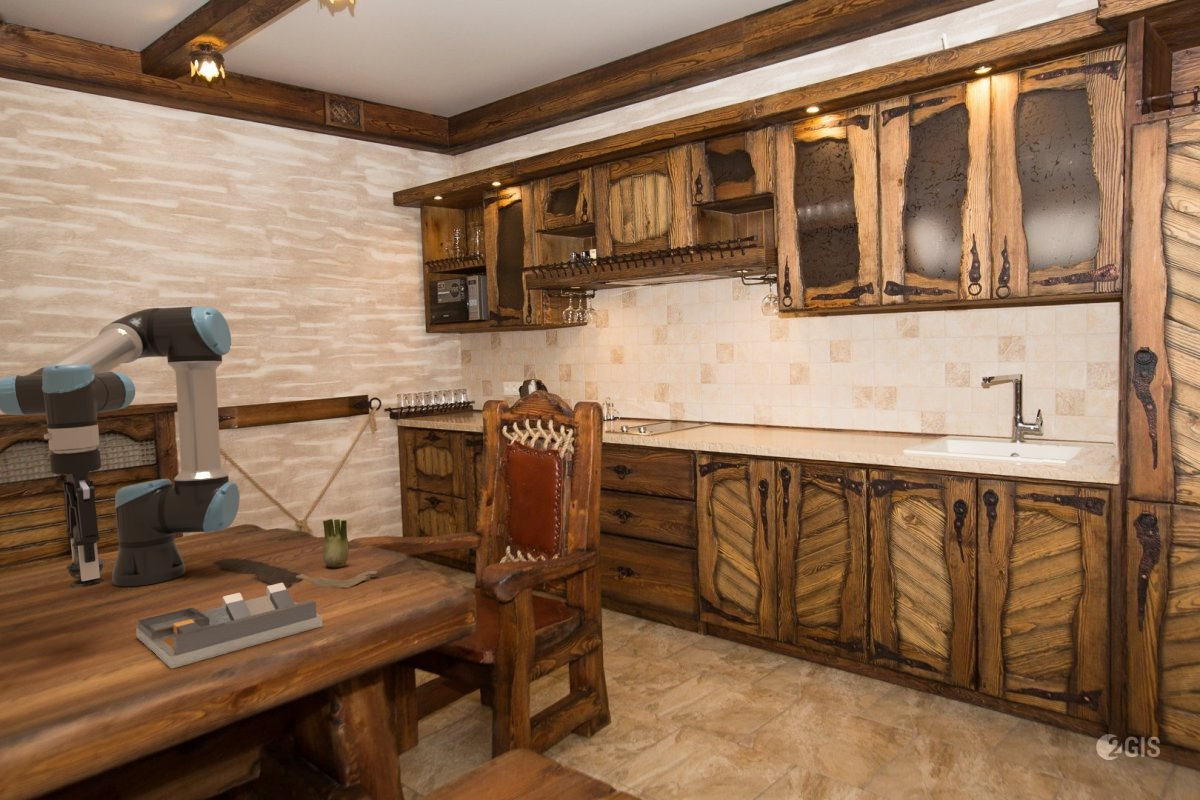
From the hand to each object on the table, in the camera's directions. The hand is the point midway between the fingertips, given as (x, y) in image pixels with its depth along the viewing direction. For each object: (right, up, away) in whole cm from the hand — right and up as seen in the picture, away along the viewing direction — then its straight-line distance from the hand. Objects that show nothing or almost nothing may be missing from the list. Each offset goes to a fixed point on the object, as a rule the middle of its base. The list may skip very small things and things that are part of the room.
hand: (86, 575), depth 139 cm
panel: (+24, -12, +5) cm, 27 cm away
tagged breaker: (+21, -10, -4) cm, 23 cm away
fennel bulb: (+29, -9, +48) cm, 57 cm away
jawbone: (+32, -10, +38) cm, 51 cm away
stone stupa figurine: (0, -2, 0) cm, 2 cm away
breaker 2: (+33, -7, +7) cm, 34 cm away
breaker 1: (+27, -8, +1) cm, 28 cm away
